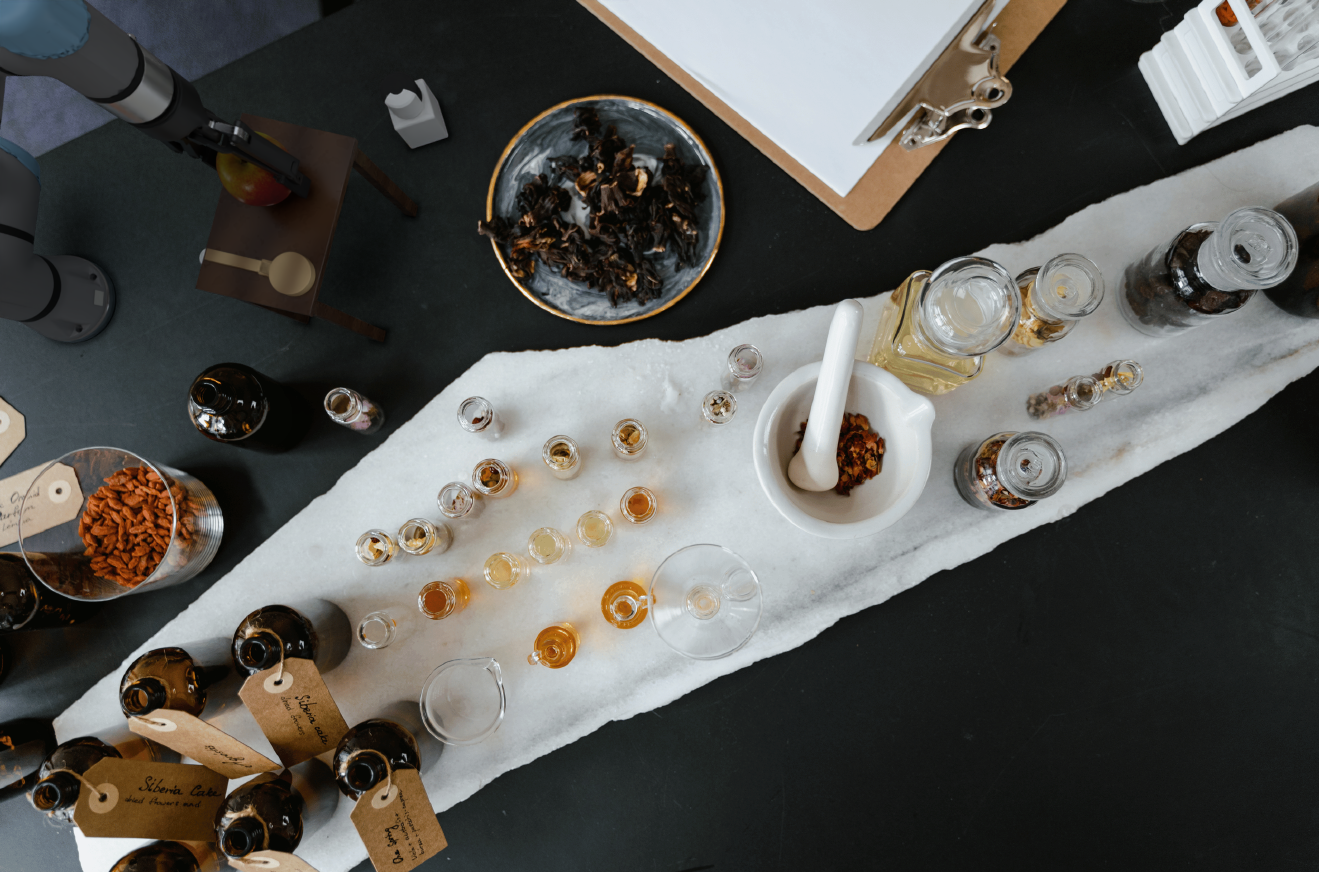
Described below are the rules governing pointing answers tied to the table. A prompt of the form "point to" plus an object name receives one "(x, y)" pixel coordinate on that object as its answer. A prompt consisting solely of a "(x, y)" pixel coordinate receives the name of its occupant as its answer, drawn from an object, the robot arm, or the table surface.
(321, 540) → the table surface
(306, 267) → the wooden paddle
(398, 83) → the gray notched block
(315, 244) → the dark wooden stool
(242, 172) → the fruit
